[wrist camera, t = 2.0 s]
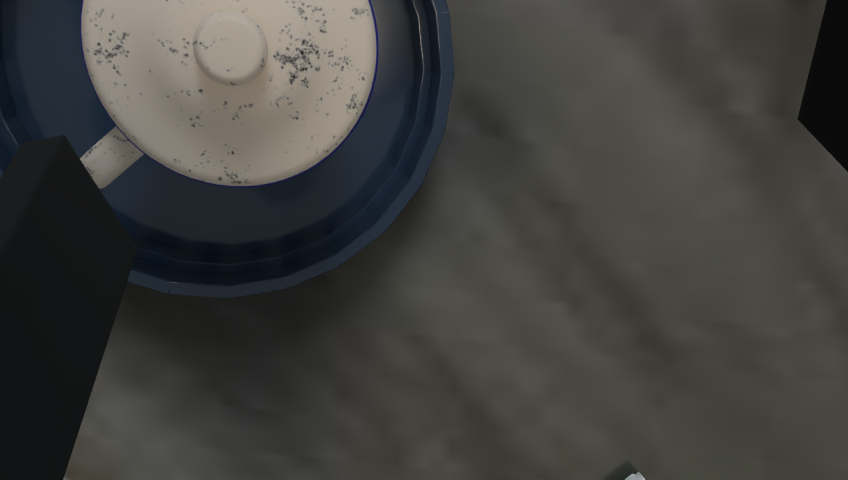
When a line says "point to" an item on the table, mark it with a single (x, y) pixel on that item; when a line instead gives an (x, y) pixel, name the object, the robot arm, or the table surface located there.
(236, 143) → the teacup with lid
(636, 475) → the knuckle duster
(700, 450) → the table surface
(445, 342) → the table surface
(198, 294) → the bowl
